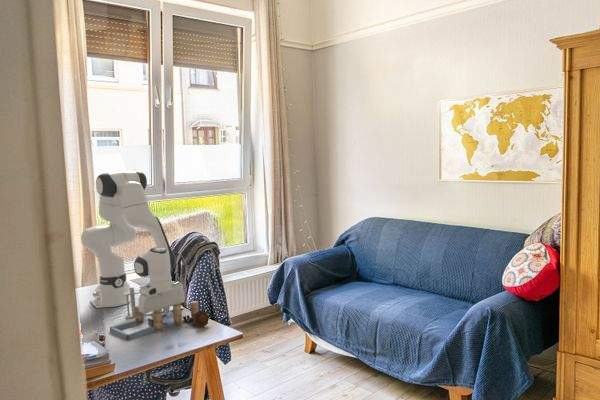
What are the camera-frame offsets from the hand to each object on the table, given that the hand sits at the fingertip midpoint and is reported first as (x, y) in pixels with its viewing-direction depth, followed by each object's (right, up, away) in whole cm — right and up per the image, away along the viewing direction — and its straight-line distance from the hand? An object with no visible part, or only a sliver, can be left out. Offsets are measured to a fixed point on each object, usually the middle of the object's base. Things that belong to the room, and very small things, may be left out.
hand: (163, 318), depth 204 cm
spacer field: (+1, -2, +2) cm, 3 cm away
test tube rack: (-8, -1, +13) cm, 16 cm away
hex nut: (-3, -2, -3) cm, 4 cm away
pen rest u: (-10, -3, -10) cm, 14 cm away
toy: (+14, -2, -5) cm, 15 cm away
